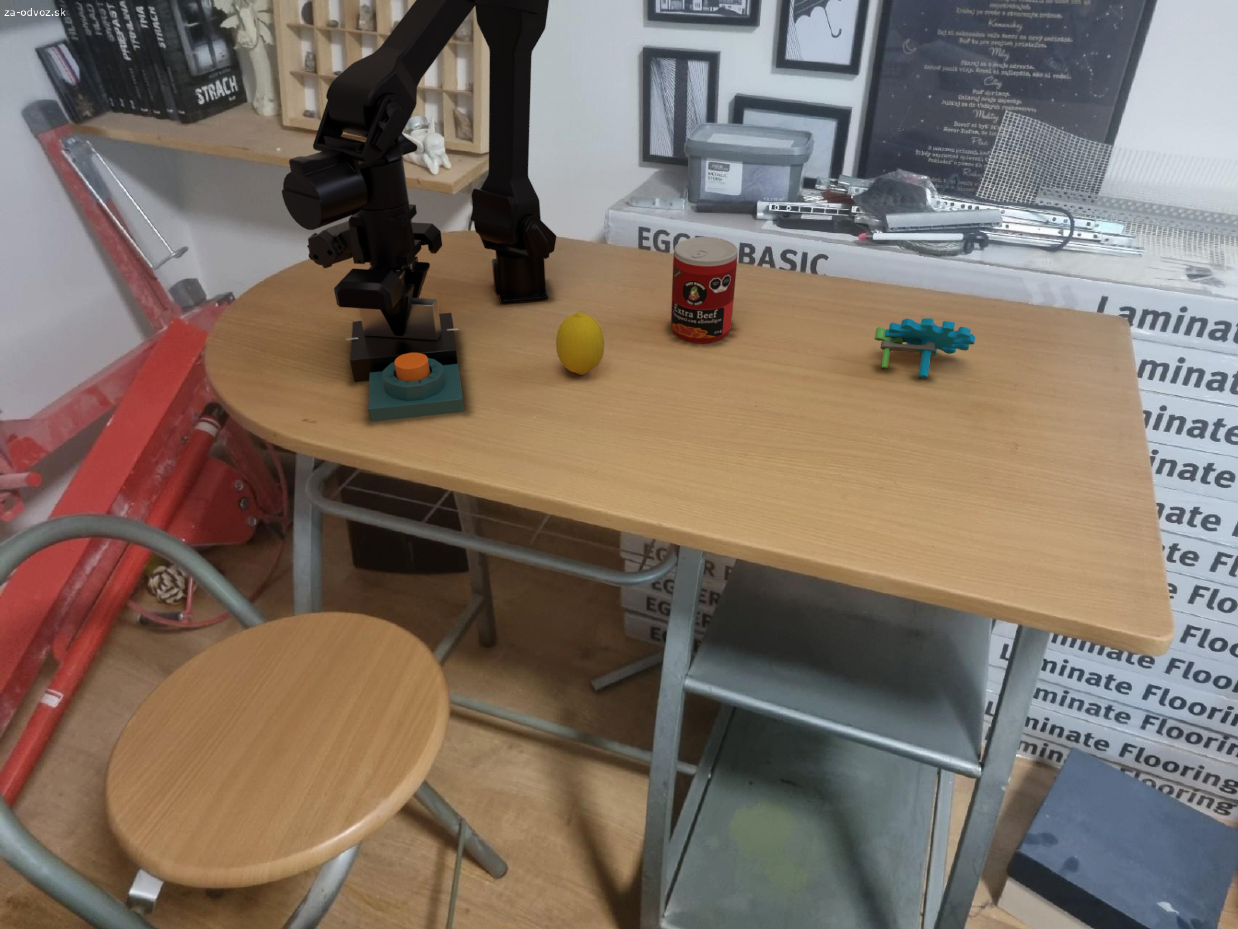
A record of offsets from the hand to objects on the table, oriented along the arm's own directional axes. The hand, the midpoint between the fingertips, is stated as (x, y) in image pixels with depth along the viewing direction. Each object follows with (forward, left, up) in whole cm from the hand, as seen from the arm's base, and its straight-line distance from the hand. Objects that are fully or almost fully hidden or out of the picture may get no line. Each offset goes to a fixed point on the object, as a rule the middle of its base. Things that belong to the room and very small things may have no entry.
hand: (402, 331), depth 104 cm
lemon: (-20, +9, -4) cm, 22 cm away
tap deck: (0, 0, -4) cm, 4 cm away
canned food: (-37, +1, -4) cm, 37 cm away
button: (-1, +10, 0) cm, 10 cm away
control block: (-1, +10, -4) cm, 11 cm away
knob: (0, 0, 0) cm, 0 cm away
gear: (-60, +15, -4) cm, 62 cm away
